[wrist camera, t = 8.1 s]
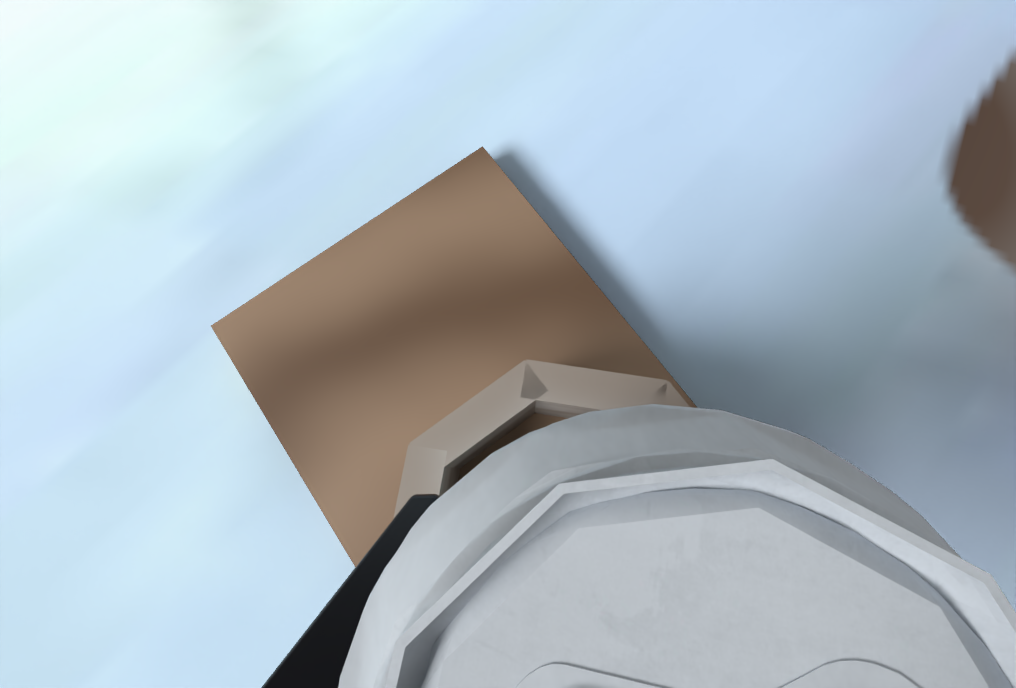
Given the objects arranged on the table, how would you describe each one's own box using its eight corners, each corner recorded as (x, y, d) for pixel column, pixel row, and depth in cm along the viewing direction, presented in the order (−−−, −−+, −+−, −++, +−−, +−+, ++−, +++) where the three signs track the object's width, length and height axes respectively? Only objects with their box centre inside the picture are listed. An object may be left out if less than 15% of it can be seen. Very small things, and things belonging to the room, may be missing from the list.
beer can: (647, 668, 13) (1400, 1924, 2) (464, 625, 14) (100, 1390, 2) (671, 477, 14) (1227, 470, 3) (501, 442, 15) (388, 315, 3)
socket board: (994, 787, 14) (1166, 903, 10) (680, 1081, 13) (742, 1333, 9) (484, 162, 20) (473, 85, 16) (227, 333, 18) (146, 296, 15)
